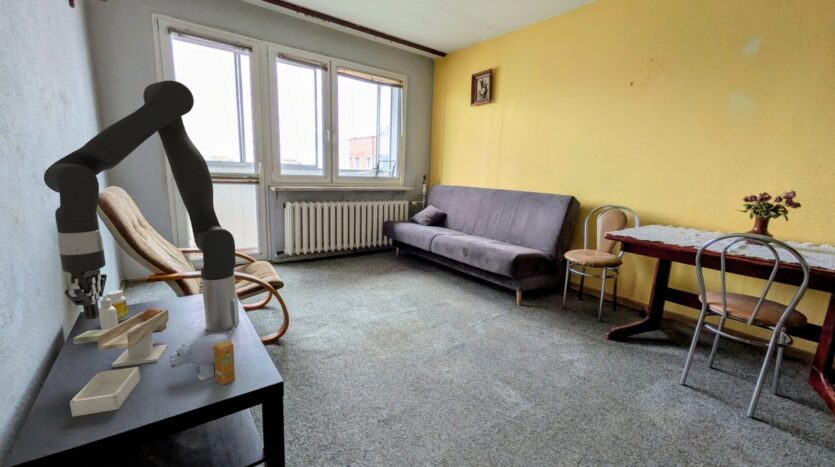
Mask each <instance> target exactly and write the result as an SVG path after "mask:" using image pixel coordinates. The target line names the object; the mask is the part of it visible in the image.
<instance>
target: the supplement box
mask: <svg viewBox="0 0 835 467" xmlns="http://www.w3.org/2000/svg"><path fill="white" fill-rule="evenodd" d="M232 343H233V342H232ZM232 343H231V342H229V341H227V340H225V341H223V342H220V343H218V344H215V345H214V359H215V363H214V375H215V381H216V382H217V383H218V382H219V383H218V384H220V383H221V384H220V385H222V386H225V385H227V384H228V383H230V382H232V381H234V380H235V379H236V375H235V372H236V371H235V353H234V352H235V351H234V350H235V349H234V343H233V344H232ZM233 379H234V380H233ZM226 383H227V384H226ZM224 384H225V385H224Z"/></svg>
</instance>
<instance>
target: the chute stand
mask: <svg viewBox="0 0 835 467" xmlns="http://www.w3.org/2000/svg"><path fill="white" fill-rule="evenodd" d="M152 334H153V333H151V334H149V335H148V336H146V337H145V338H143V339H142V340H141V341H139V342H138V343H136V344H135V345H134V346H132V347H126V349H125V350H124V351H123V352H122V353H121V354H120V355H119V356H118V357H117V358H116V360H115V361H114V362H113V363H112V364H111V366H112V368H117V367H127V366H133V365H140V364H142V365H143V364H149V363H157V362H159V361H160V359H161V358H162V356H163V355H164V353H165V352H166V351H167V350H168V348H169V344H159V345H154V344H153V343H154V342H153V336H152Z"/></svg>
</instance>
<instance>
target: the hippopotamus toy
mask: <svg viewBox="0 0 835 467" xmlns="http://www.w3.org/2000/svg"><path fill="white" fill-rule="evenodd" d="M235 329H236V327H233V328H231V330H230V331H229V333H228V334H226V333H215V334H214V333H213V334H208V335H205V336H201V337H200V338H198V339H196V340H195V341H193V342H191V343H190V344H189V345H187V346H186V344H185V343H183V344H182V345H181V347H179V348H178V349H177V350H176V353H175V354H171V355H170V356H169V357H170V358H169V364H170V368H171V369H177V368H180V367H181V366H183V365H187V364H190V363H193V364H194V365H195V366H196V367H199V372H200V373H198V376H197V377H198V379H199V381H205V380H207V379H211V378H213V377H214V375H215V367H214V365H215V359H214V345H215V344H218V343H220V342H223V341H225V340H227V341H229V342H231V343H232V344H233V345H234V343H233V341H232V339H231V338H232V337H233V335H234V333H235Z"/></svg>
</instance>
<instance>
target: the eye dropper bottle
mask: <svg viewBox="0 0 835 467" xmlns="http://www.w3.org/2000/svg"><path fill="white" fill-rule="evenodd" d="M102 297H103V298H102V299H100V300H99V302H100V307H98V309H99V316H98V317H99V323H100V328H101V329H100V330H102V329H111V328H113V327H115V326H117V325H118V324H119V321H118V320H117V314H116V309H115V308H114V307H113V306H112V304H111V299H110V298H107V294H105V295H104V294H103V296H102Z"/></svg>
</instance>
